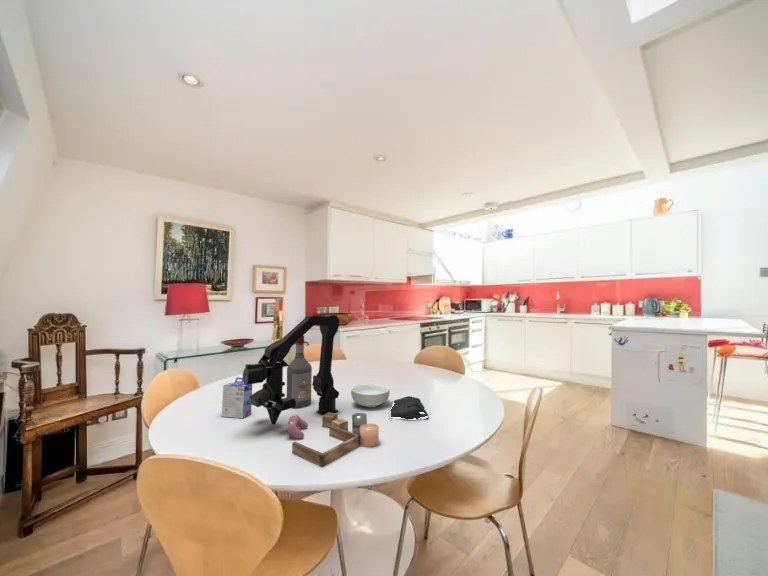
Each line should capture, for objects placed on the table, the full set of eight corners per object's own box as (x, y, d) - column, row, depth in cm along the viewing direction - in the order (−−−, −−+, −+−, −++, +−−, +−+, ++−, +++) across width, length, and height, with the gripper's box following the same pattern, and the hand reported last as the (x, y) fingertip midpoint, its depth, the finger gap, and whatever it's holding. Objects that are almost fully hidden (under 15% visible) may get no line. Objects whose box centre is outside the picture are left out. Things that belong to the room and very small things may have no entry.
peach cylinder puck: (368, 437, 102) (368, 422, 103) (382, 442, 99) (382, 426, 99) (355, 443, 98) (356, 427, 98) (370, 449, 94) (370, 432, 94)
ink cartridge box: (252, 413, 124) (253, 377, 124) (243, 418, 118) (244, 380, 119) (230, 412, 125) (231, 376, 126) (221, 417, 120) (222, 379, 121)
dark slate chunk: (424, 403, 139) (424, 392, 139) (429, 422, 117) (429, 409, 117) (390, 402, 139) (390, 392, 140) (389, 421, 117) (389, 408, 118)
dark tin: (357, 429, 109) (357, 412, 109) (369, 431, 106) (369, 413, 107) (349, 434, 104) (349, 416, 105) (362, 437, 102) (361, 418, 102)
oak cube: (341, 429, 109) (341, 417, 109) (348, 432, 106) (348, 421, 106) (331, 432, 106) (331, 420, 106) (338, 436, 103) (338, 424, 103)
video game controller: (297, 432, 110) (288, 415, 110) (309, 426, 110) (300, 408, 110) (291, 445, 100) (282, 426, 100) (304, 438, 100) (295, 419, 100)
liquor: (313, 405, 134) (314, 336, 136) (293, 409, 128) (294, 337, 130) (303, 400, 141) (304, 334, 143) (284, 404, 135) (285, 335, 137)
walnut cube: (328, 423, 114) (328, 412, 115) (337, 424, 113) (337, 413, 113) (322, 427, 111) (322, 415, 111) (331, 428, 109) (331, 417, 109)
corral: (331, 434, 104) (331, 425, 104) (360, 445, 96) (360, 435, 97) (292, 452, 91) (292, 442, 92) (321, 466, 84) (322, 455, 84)
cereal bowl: (359, 413, 124) (360, 396, 124) (345, 402, 139) (345, 386, 139) (396, 407, 132) (396, 390, 132) (379, 396, 147) (379, 381, 147)
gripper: (239, 380, 111) (238, 424, 110) (269, 389, 99) (268, 438, 99) (267, 374, 119) (266, 415, 119) (297, 382, 108) (296, 427, 108)
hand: (273, 424), depth 111 cm, fingers closed
